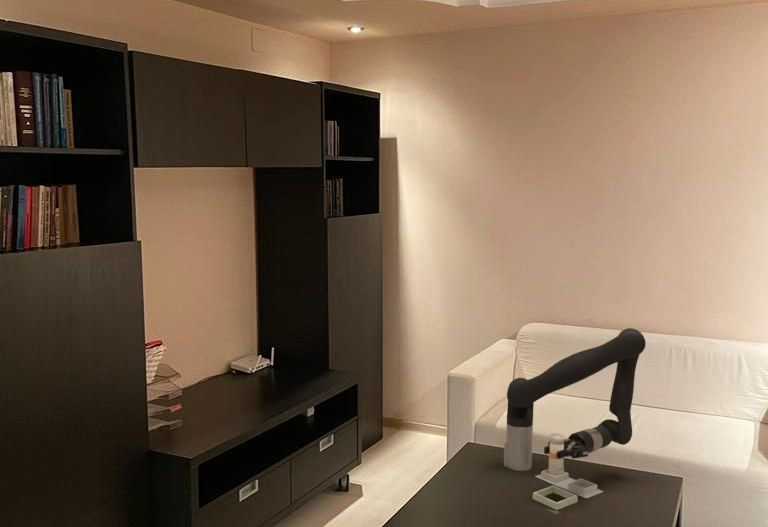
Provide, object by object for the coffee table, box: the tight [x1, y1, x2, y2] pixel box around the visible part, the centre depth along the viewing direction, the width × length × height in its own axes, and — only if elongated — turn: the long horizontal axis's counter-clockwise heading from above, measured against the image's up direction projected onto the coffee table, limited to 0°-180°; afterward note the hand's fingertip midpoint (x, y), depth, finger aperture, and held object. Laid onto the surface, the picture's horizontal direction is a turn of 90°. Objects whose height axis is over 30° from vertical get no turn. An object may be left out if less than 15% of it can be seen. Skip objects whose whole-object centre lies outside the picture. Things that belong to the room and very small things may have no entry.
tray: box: [532, 484, 579, 515], centre depth 233 cm, size 10×10×4 cm
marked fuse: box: [548, 433, 565, 475], centre depth 232 cm, size 5×5×12 cm
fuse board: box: [534, 468, 604, 499], centre depth 246 cm, size 22×9×4 cm, turn 36°
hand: (551, 453), depth 230 cm, fingers closed on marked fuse, 4 cm apart
